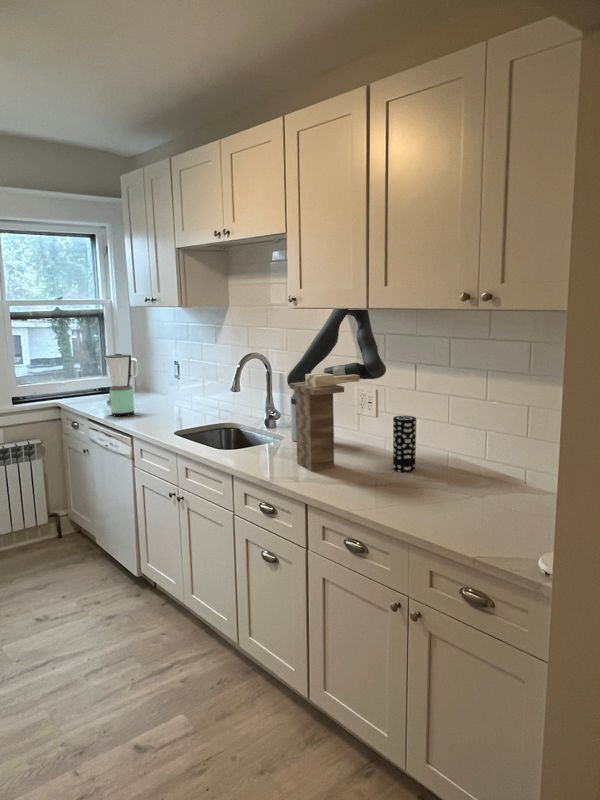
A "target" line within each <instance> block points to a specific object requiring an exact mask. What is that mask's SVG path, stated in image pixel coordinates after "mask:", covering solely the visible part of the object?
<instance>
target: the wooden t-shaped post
mask: <svg viewBox="0 0 600 800" xmlns="http://www.w3.org/2000/svg"><path fill="white" fill-rule="evenodd" d="M289 389H290V390H295V394H296V434H297V442H296V462H297V465H299V466H300V467H302V468H304V469H306V470H308V471H309V472H316V470H317V471H323V470H327V469H328V470H329V469H333V467H334V468H335V442H334V441H335V436H334V435H335V431H334V430H335V429H334V426H335V425H334V394H338V393H340V394H341V393H345V386H341V385H340V384H336V385H335V384H334V385H330V386H320V387H314V386H310V385H306V382H298V383H290V387H289ZM322 469H323V470H322Z"/></svg>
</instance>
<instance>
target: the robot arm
mask: <svg viewBox="0 0 600 800" xmlns="http://www.w3.org/2000/svg"><path fill="white" fill-rule="evenodd" d="M347 316H351V317H353V318H354V319H355V321H356V323H357V332H356V333H357V334H356V340H357V341H356V343H357V344H358V348H359V352H360V353H361V357H362V361H363V362H362V363H360V362H352V363H346V364H339V365H334V366H329V367H325V368H324V369H323V372H324V373H328V374H333V375H334V376H343V375H353V374H355V375H359V380H376V379H379V378H381V377H384V375H385V374H386V372H387V366H386V365H385V363H384V361H382V359H381V357H380V355H379V348H378V344H377V342H376V339H375V336H374V334H373V330H372V326H371V321H370V314H369V309H368V310H348V309H334V308H333V309H332V311H331V312H330V315H329V316H328V318H327V320H326V321H325V323H324V324H323V326H322V327H321V329H320V330H319V331H318V333H317V334H316V335H315V337H314V338H313V340H312V342H311V343H310V345H309V346H308V347H307V349H306V350H305V352H304V354H303V356H301V358H300V360H299V361H298V362H297V363H296V365H294V367H293V368H292V369H291V370H290V371H289V373H288V375H287V379H286V381H287V382H286V383H287V385H288V387H289V388H290V383H298V382H306V379H305V374H312V372H313V370H314V369H315V368H316V367H317V366H318V365H319V364H320V363H322V362H323V361H324V360H325V359H326V358H327V357H328V356H329V355H330V353H331V352H332V351H333V349H334V348H335V347H336V345H337V343H338V340H339V333H340V327H341V324H342V322H343V321H344V319H345V318H346V317H347ZM323 372H321V373H323ZM340 384H342V383H339V384H338V385H340ZM335 385H337V384H335ZM293 390H294V389H293ZM290 413H291V414H290V415H291V416H290V418H291V419H290V424H291V425H290V427H291V431H290V433H291V440H292V442H296V441H297V434H296V394H295V390H294V391H293V394H292V396H291V397H290Z"/></svg>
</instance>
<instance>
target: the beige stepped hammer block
mask: <svg viewBox="0 0 600 800" xmlns="http://www.w3.org/2000/svg"><path fill="white" fill-rule="evenodd" d="M305 379H306V385H310V386H314V387H320V386H330V385H334V384H336V385H340V384H339V383H341V384H345V383H357V382H360V379H359V375H355V374H353V375H343V376H334V375H333V374H328V373H324V372H323V373H322V372H313V373H312V372H311V374H305Z"/></svg>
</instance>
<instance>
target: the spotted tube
mask: <svg viewBox="0 0 600 800" xmlns="http://www.w3.org/2000/svg"><path fill="white" fill-rule="evenodd" d="M392 419H393V428H392V429H393V434H392V435H393V439H392V441H393V443H392V446H393V448H392V449H393V450H392V451H393V452H392V453H393V454H392V459H393V460H392V461H393V462H392V464H393V465H392V466H393V467H392V469H393V470H395V472H397V471H398V473H403V472H407V473H413V472H414V470H415V471H416V448H417V446H416V445H417V442H416V439H417V433H416V432H417V431H416V430H417V424H416V423H417V417H415V416H412V415H397V416H393V418H392ZM412 471H413V472H412Z"/></svg>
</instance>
